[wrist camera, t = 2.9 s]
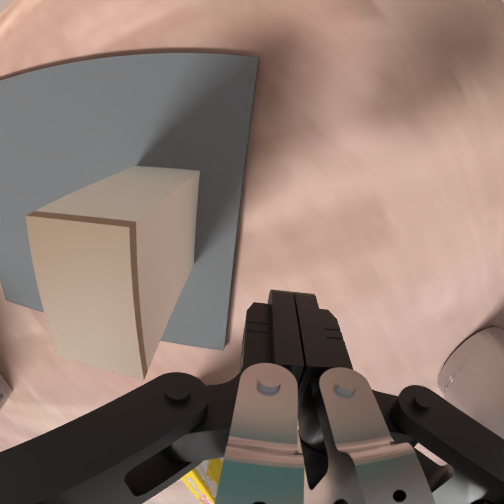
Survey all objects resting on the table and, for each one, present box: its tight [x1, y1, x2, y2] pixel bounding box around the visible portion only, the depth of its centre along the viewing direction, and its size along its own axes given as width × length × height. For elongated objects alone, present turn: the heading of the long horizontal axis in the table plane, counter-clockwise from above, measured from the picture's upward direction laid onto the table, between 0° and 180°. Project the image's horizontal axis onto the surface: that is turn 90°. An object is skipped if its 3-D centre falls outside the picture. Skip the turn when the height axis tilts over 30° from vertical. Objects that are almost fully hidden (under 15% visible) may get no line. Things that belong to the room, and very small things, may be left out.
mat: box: [0, 53, 259, 351], centre depth 18 cm, size 22×20×1 cm
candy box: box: [181, 385, 224, 504], centre depth 24 cm, size 16×2×8 cm, turn 6°
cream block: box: [26, 166, 200, 380], centre depth 13 cm, size 4×6×10 cm, turn 173°
